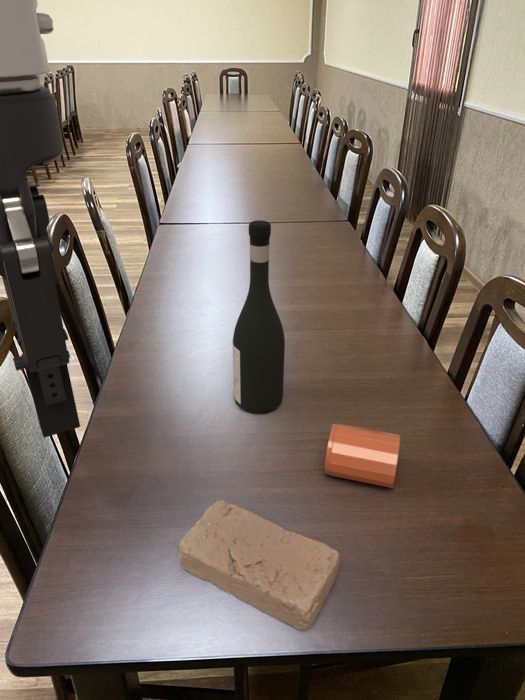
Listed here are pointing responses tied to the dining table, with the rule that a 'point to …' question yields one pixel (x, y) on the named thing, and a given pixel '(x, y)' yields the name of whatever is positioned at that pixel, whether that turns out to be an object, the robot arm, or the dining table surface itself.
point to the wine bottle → (258, 334)
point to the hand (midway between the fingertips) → (60, 426)
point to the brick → (260, 563)
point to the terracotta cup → (362, 455)
